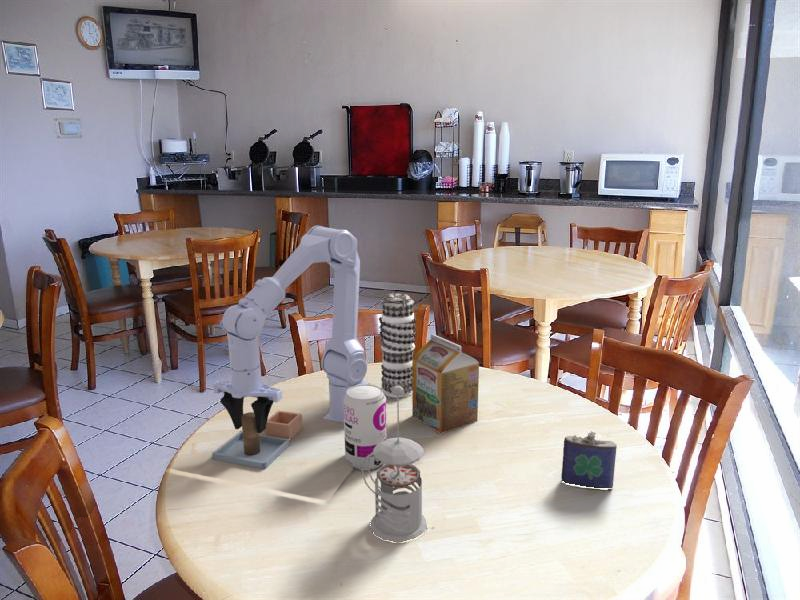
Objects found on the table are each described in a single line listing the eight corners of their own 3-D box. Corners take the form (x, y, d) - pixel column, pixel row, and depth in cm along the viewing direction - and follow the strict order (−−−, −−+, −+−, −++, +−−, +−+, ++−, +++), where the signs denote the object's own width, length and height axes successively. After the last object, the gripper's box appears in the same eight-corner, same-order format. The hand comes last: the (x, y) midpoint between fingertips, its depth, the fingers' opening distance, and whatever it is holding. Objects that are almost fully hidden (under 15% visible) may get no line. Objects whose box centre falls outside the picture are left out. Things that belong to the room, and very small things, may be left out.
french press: (408, 551, 95) (408, 404, 89) (349, 527, 101) (344, 388, 95) (438, 518, 103) (440, 382, 97) (381, 497, 109) (379, 367, 103)
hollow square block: (302, 430, 134) (301, 413, 133) (289, 442, 129) (288, 425, 128) (279, 426, 136) (278, 410, 135) (265, 438, 131) (264, 421, 129)
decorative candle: (409, 400, 148) (409, 302, 142) (374, 395, 152) (372, 298, 145) (421, 386, 157) (421, 292, 150) (388, 381, 160) (387, 289, 153)
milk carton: (477, 420, 138) (479, 341, 133) (440, 433, 132) (441, 351, 127) (448, 404, 146) (449, 329, 141) (412, 415, 141) (412, 338, 136)
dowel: (263, 448, 125) (260, 413, 123) (254, 456, 122) (252, 421, 120) (249, 445, 126) (247, 411, 124) (241, 453, 123) (238, 418, 121)
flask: (612, 484, 113) (617, 432, 110) (613, 493, 110) (618, 439, 107) (561, 477, 115) (564, 426, 112) (560, 485, 113) (564, 433, 110)
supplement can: (393, 455, 123) (392, 387, 119) (374, 475, 116) (373, 403, 112) (358, 447, 127) (356, 380, 123) (338, 466, 120) (335, 396, 116)
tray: (290, 447, 127) (290, 439, 126) (265, 471, 118) (264, 463, 117) (240, 438, 131) (240, 430, 130) (212, 461, 122) (211, 453, 121)
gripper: (201, 368, 118) (207, 432, 121) (267, 378, 113) (271, 443, 117) (223, 356, 124) (228, 417, 128) (286, 364, 120) (289, 427, 123)
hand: (250, 429), depth 123 cm, fingers open, 5 cm apart
